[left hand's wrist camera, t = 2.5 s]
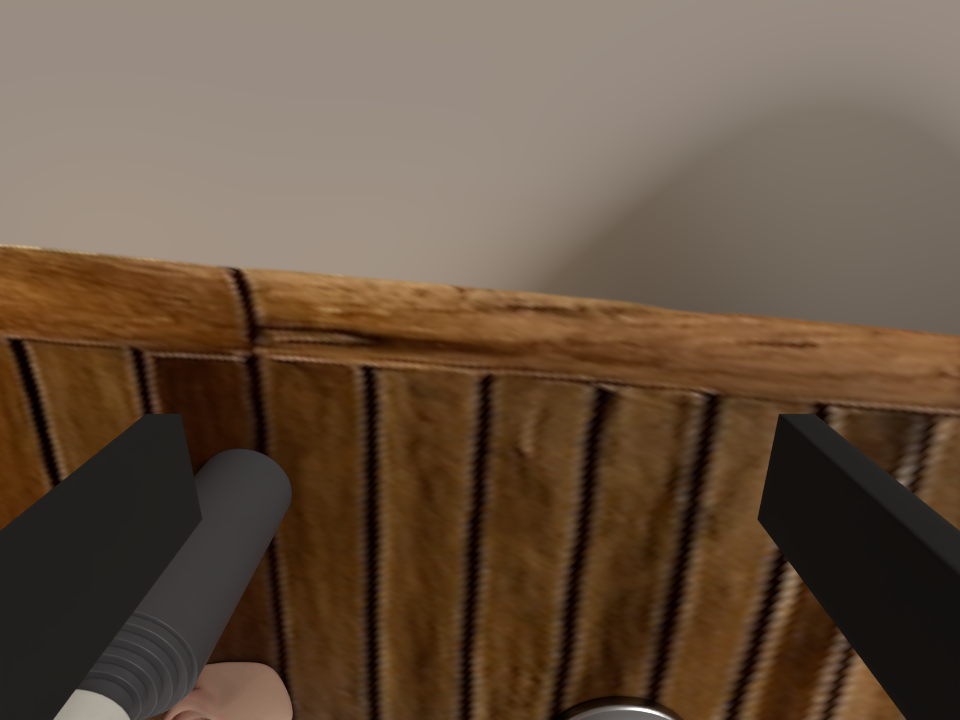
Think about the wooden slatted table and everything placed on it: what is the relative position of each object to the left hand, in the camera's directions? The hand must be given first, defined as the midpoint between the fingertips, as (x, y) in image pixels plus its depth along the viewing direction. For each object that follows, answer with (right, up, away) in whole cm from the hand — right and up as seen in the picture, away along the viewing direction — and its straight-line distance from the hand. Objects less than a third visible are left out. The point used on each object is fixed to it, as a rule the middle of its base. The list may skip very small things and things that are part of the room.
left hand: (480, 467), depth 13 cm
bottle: (-19, -8, +33) cm, 39 cm away
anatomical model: (-24, -31, +41) cm, 57 cm away
